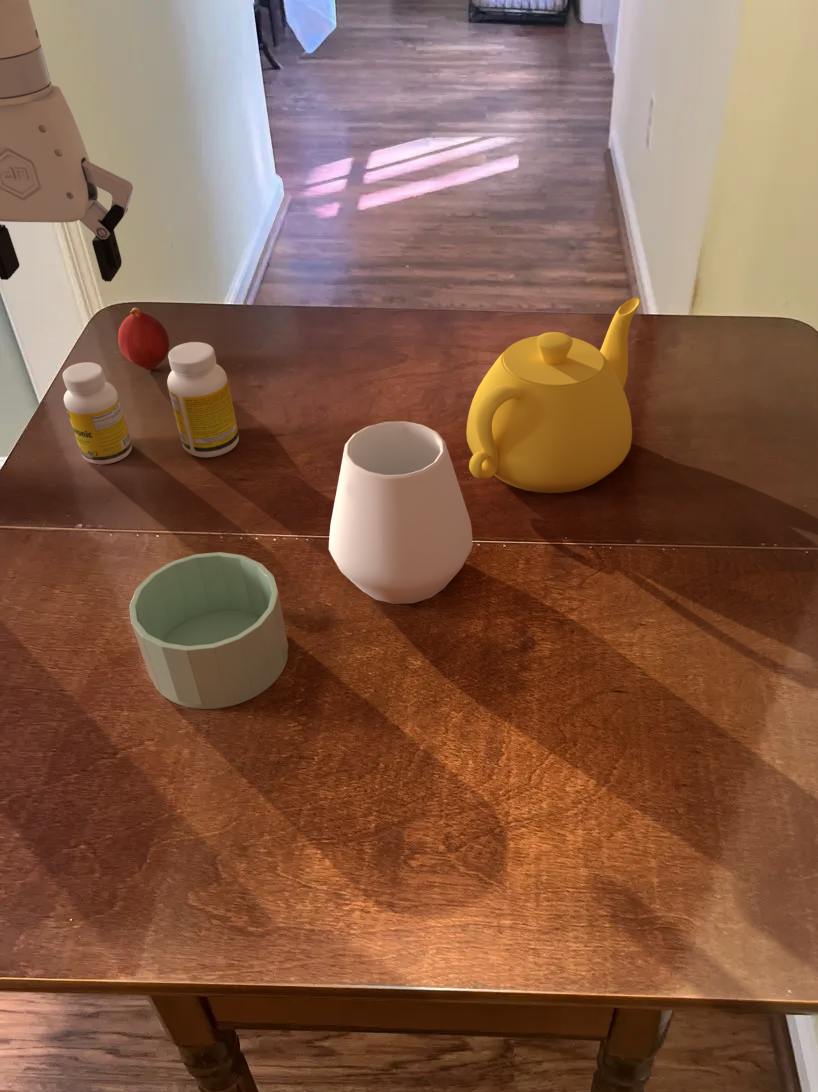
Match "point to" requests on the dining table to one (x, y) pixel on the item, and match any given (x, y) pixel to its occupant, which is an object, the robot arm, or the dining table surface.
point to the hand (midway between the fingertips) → (61, 274)
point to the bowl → (210, 629)
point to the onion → (143, 340)
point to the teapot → (554, 411)
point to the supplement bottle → (95, 414)
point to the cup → (399, 514)
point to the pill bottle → (201, 400)
